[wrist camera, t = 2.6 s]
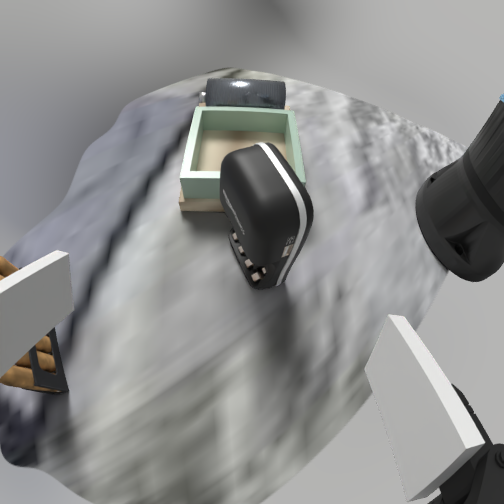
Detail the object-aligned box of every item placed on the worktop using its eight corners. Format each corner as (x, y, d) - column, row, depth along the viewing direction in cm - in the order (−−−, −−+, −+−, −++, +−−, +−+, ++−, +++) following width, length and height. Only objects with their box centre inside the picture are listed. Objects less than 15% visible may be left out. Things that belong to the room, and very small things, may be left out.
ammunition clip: (36, 291, 23) (-39, 232, 12) (49, 285, 23) (-26, 223, 13) (54, 394, 19) (-41, 381, 8) (69, 391, 19) (-27, 377, 8)
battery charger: (217, 234, 27) (211, 142, 17) (254, 221, 28) (267, 129, 18) (247, 300, 24) (259, 232, 14) (287, 284, 25) (323, 209, 15)
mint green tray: (287, 114, 36) (295, 75, 30) (301, 214, 29) (316, 171, 23) (200, 110, 36) (198, 71, 30) (180, 211, 28) (170, 166, 22)
